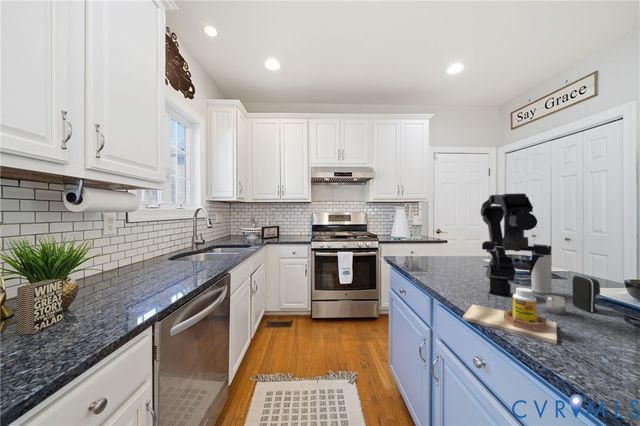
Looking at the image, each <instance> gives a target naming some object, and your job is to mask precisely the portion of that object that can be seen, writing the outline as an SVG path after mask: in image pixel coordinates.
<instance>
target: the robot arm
mask: <svg viewBox="0 0 640 426" xmlns="http://www.w3.org/2000/svg"><path fill="white" fill-rule="evenodd" d="M533 209H534V207H533V204H532V202H531V201H530V198H529V197H528V196H527V194H526V193H525V192H524V193H503V194H491V195H489V197H488V199H487V200H486V201H484V202H483V203H482V205H481V208H480V216H481V217H482V221H483V222H484V223H485V224H486V225H487V227H488V235H489V240H486V241H483V242H482V244H481V249H482V250H483V251H484V250H485V252H487V253H489V254H490V256H491V258H490V260H489V262H488V266H487V268H486V270H485V275H486V278H487V279H488V280H489V292H488V294H491V295H495V296H500V297H501V296H502V297H507V298H508V297H509V296H510V295H511V293H512V283H511V282H514V280H515V275H516V269H515V266H514V264H513V260H512V258H511V257H508V255H506V251H508V252H509V251H514V252H521V251H522V252H523V251H524V252H532V251H533V252H534V253H533V254H532V253H531V258H530V259H531V260H530V265H529V274H532V270H533V268H534V265H535V263H536V262H537V260H538V259H539V257H544V255H549V246H550V245H548V244H538V243H534V244H533V245H529V237H528V236H525V231H531V230H533V229H535V228H536V226H537V224H538V219H537V217H536V216H535V215H534V214H533V212H534V211H533ZM502 220H503V230H504V231H503V230H502V225H501V222H502ZM502 231H503V232H502ZM510 281H511V282H510Z"/></svg>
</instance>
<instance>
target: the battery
mask: <svg viewBox="0 0 640 426" xmlns="http://www.w3.org/2000/svg"><path fill="white" fill-rule="evenodd" d="M599 295H600V296H601V286H600V282H599V280H597V279H595V278H594V277H593V278H592V277H588V276H586V275H585V276H584V275H574V276H573V277H572V305H573V306H574V307H576V308H578V309H580V310H583V311H585V312H589V313H597V312H598V309H597V308H596V306H595V305H596V304H595V303H596V297H597V296H599Z"/></svg>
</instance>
